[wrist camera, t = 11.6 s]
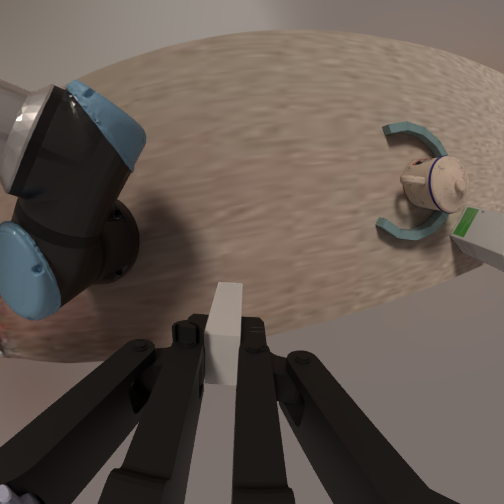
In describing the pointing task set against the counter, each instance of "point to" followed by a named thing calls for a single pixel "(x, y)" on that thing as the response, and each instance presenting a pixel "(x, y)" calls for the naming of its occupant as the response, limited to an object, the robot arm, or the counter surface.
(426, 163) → the teacup with lid
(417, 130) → the open curved ring
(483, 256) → the skincare box
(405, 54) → the counter surface
